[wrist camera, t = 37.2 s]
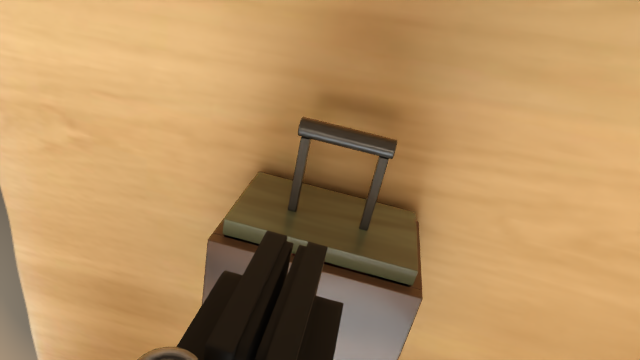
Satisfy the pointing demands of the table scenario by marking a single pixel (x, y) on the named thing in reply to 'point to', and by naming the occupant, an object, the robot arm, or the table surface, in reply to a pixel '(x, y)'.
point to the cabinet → (339, 299)
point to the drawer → (332, 211)
